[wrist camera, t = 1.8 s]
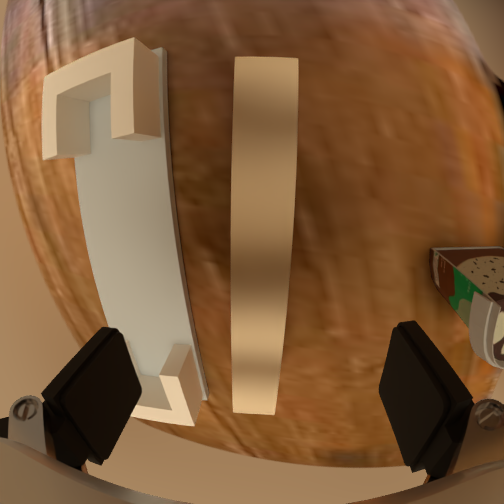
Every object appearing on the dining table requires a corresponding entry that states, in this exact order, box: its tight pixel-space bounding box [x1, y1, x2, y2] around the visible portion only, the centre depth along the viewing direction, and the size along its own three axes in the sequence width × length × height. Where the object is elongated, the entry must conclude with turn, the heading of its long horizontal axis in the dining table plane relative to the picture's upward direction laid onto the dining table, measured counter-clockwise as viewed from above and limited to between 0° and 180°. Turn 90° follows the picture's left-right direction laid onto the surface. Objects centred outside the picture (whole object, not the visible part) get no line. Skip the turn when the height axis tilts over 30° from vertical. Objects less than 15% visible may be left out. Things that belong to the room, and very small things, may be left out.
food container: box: [429, 246, 504, 369], centre depth 15 cm, size 12×6×10 cm, turn 93°
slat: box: [231, 57, 298, 415], centre depth 17 cm, size 22×3×6 cm, turn 179°
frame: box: [42, 37, 209, 426], centre depth 18 cm, size 30×8×5 cm, turn 4°
